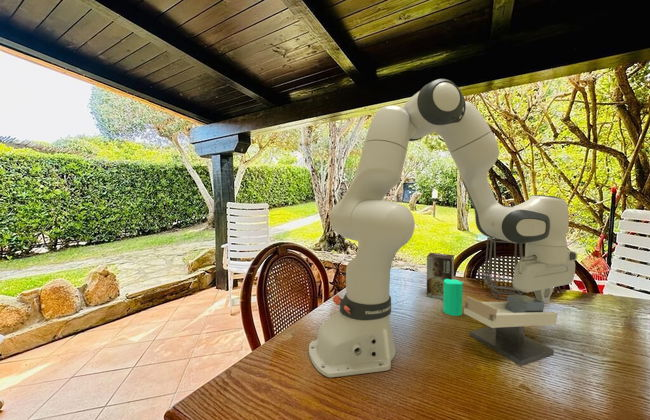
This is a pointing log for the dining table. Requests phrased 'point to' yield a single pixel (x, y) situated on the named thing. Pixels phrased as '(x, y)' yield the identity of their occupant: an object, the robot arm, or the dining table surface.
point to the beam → (505, 315)
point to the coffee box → (438, 273)
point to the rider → (523, 304)
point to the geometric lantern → (495, 268)
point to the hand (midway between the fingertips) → (542, 302)
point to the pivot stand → (512, 343)
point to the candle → (453, 297)
